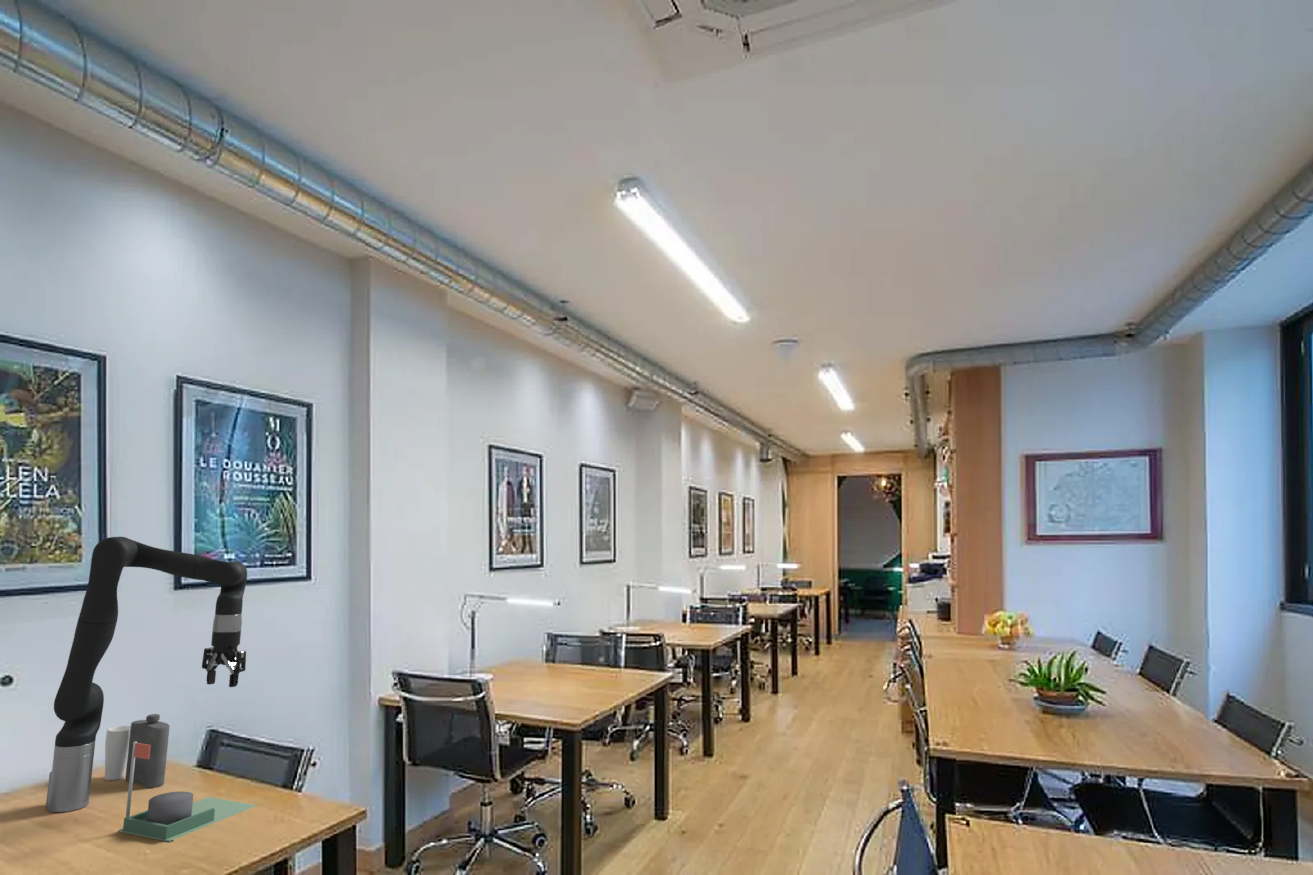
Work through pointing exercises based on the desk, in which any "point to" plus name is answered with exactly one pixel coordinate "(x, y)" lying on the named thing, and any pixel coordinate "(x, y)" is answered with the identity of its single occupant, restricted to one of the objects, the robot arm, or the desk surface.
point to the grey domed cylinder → (170, 807)
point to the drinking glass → (116, 752)
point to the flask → (157, 737)
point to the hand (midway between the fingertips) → (221, 685)
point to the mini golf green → (201, 817)
